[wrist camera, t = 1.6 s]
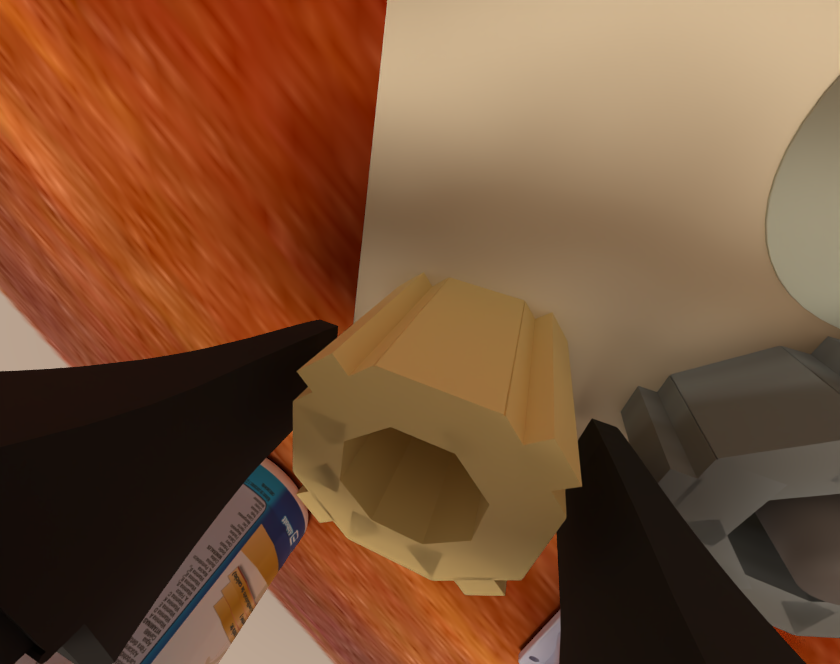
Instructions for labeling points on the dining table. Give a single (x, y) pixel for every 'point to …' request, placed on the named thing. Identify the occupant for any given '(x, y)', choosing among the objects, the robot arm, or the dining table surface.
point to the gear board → (646, 239)
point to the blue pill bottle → (220, 576)
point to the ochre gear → (442, 433)
